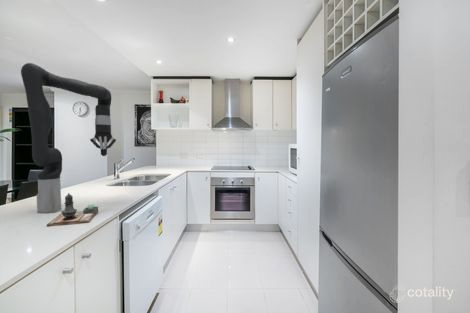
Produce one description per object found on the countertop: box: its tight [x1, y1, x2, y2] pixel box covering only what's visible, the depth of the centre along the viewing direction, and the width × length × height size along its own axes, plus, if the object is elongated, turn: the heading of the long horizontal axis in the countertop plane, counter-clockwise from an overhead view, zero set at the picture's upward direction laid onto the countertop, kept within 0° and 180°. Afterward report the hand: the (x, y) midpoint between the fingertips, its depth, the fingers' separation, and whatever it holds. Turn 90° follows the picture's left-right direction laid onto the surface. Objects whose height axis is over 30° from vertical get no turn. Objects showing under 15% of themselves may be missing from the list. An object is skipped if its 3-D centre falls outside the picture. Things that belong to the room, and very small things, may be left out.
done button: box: [87, 204, 95, 209], centre depth 117 cm, size 3×3×3 cm
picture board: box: [46, 206, 99, 227], centre depth 111 cm, size 16×18×3 cm
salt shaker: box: [60, 192, 78, 220], centre depth 106 cm, size 6×6×12 cm
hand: (103, 155), depth 127 cm, fingers closed
